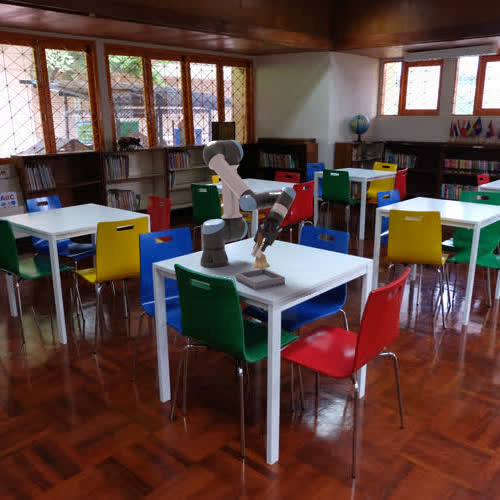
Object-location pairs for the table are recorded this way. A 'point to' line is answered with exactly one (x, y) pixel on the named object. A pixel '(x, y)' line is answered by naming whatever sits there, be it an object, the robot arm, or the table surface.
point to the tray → (260, 278)
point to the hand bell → (261, 261)
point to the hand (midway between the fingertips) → (255, 256)
